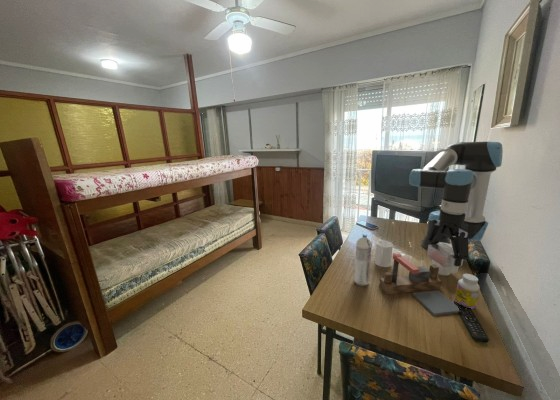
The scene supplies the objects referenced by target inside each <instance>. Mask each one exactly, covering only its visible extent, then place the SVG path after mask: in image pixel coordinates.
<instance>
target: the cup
mask: <svg viewBox="0 0 560 400" xmlns="http://www.w3.org/2000/svg"><path fill="white" fill-rule="evenodd" d="M439 244H444V243H442V242H439ZM445 244H446V245H448V246H450V247H452V243H450V244H448V243H445ZM452 248H453V247H452ZM431 261H432V265H436V266H438V267H439V271H438V275H441V276H450V275H451V273H450V272H449V271H450V267H448V268H444V267H443V266H441V265H440V264H438V263H437V262H435V261H434V260H431Z"/></svg>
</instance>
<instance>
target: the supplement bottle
mask: <svg viewBox="0 0 560 400" xmlns="http://www.w3.org/2000/svg"><path fill="white" fill-rule="evenodd" d="M478 282H479V278H478V277H477V276H475V275H473V274H471V273H463V274H462V278H460V279H458V281H457V284H456V285H457V287H456V291H455V295H454V302H455V303H456V302H457V303H459V304H462V305H464V306H467V307H469V308H471V309H470V310H472V309H474V308H475V307H476V306H477V301H478V297H479V293H480V285H479V284H478ZM457 303H456V304H457Z"/></svg>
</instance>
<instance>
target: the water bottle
mask: <svg viewBox="0 0 560 400" xmlns="http://www.w3.org/2000/svg"><path fill="white" fill-rule="evenodd" d="M355 245H356V247H355V258H354V259H355V260H354V271H353V272H354V275H353V280H354V282H355V284H357V285H359V286H361V287H362V286H363V287H365V286H368V285H369V283H370V272H371V263H372V261H371V260H372V259H371V257H372V247H373V243H372V241H371V240H370V238H368V235H367V234H366V233H362V237H360V238H358V240H357V241H356V244H355Z"/></svg>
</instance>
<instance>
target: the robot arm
mask: <svg viewBox="0 0 560 400" xmlns="http://www.w3.org/2000/svg"><path fill="white" fill-rule="evenodd" d="M503 152H504V151H503V144H502V143H501V142H499V141H467V142H466V141H461V142H454V143H451V144H449V145H446V146H444V147H442V148H441V149H439V150H438V151H437V152H436V153H435V155H434V157H433V159H431V160H430V161H429V162H428V163H427V164H426V165H425V166H423V168H422V169H421V168H413V169H412V170H411V171H410V173H409V178H408V182H409V185H410V186H412V187H418V188H428V189H438V190H443V191H442V192H443V193H442V199H441V204H440V210H434V211H431V212H430V213H429V215H428V218H427V220H428V221H427V226H426V233H425V235H424V237H423V239H422V240H421V247H422V248H423V249H425V250H426V251H428V245H432V244H439V242H442V243H448V244H451V245H452V247H453V252H454V257H452V261H451V266H450V271H449V272H450V274H455V273H456V274H457V273H459V268H460V267H462V266H461V262H462V259H463V260H469V258H470V257H469V256H470V255H469V241H475V242H480V241H482V239H483V237H484V235H485V233H486V230H487V227H488V225H489V222H488V221H487V220H486V217H485V216H484V215H483V214H484V208H485V203H486V199H487V198H486V197H487V193H488V191H489V183H490V179H491V174H492V173H494V172H495V171H497V168H500V167H502V163H503ZM453 165H454V166H464V168H453V169H448V168H449V167H451V166H453ZM447 169H448V170H447ZM458 254H459V255H458ZM429 260H431V261H432V259H431V258H429Z"/></svg>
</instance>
